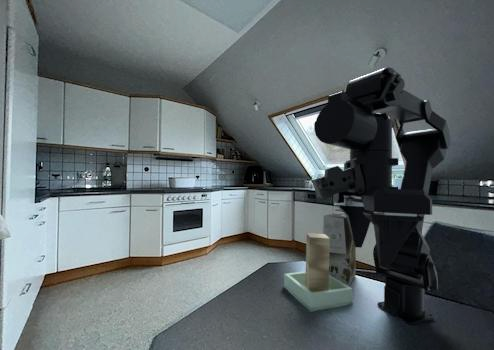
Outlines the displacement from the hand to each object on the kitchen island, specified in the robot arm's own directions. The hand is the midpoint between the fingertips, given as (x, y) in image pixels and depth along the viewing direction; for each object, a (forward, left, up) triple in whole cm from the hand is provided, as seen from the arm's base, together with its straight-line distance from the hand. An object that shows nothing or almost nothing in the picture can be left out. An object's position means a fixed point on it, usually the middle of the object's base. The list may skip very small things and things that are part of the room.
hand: (369, 255), depth 33 cm
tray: (-2, -14, -13) cm, 20 cm away
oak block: (-2, -14, -12) cm, 19 cm away
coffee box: (-13, -20, -13) cm, 28 cm away
